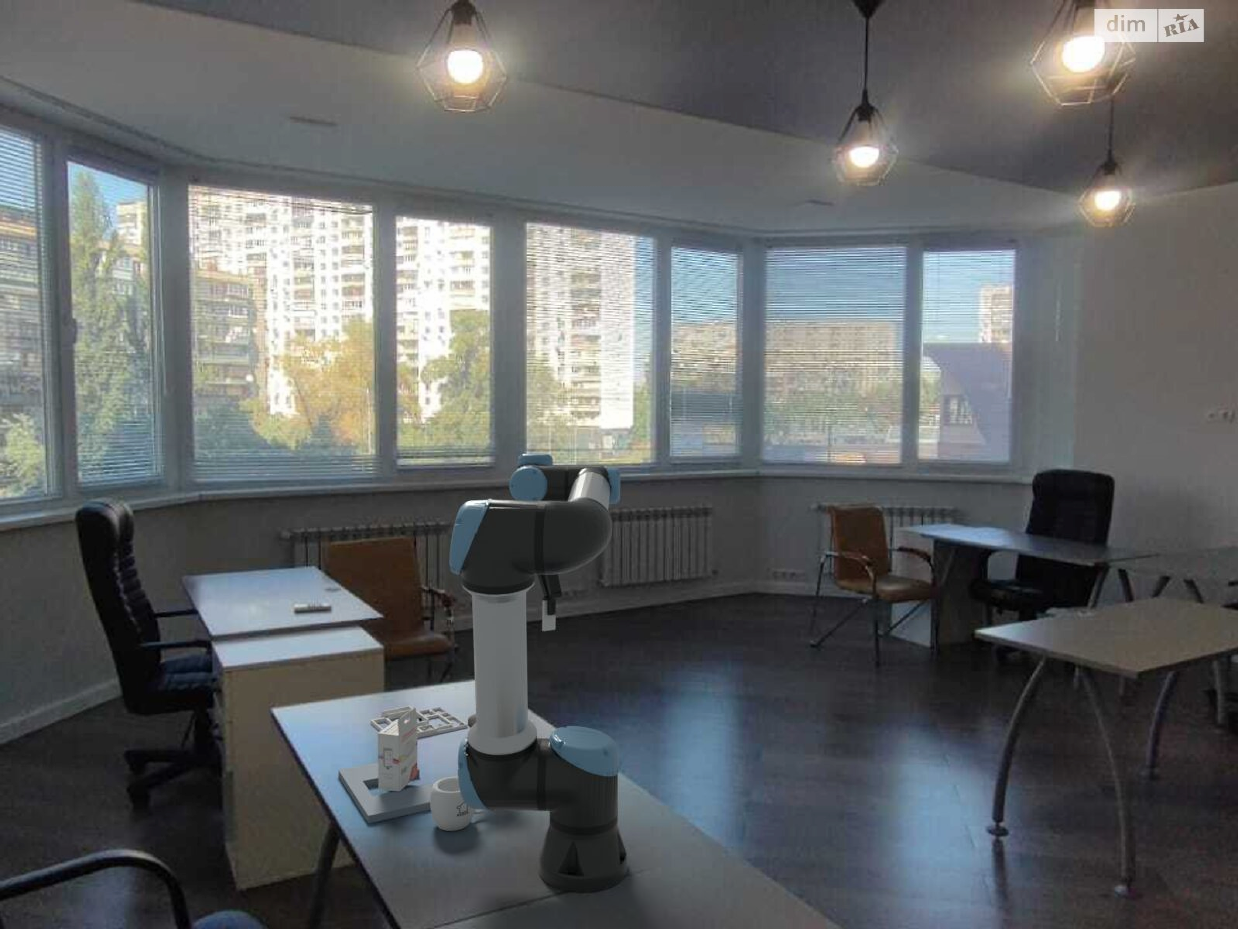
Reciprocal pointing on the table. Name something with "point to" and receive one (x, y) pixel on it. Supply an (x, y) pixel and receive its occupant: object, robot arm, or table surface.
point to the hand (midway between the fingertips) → (533, 623)
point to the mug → (450, 805)
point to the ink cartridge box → (398, 753)
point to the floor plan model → (425, 720)
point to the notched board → (382, 795)
